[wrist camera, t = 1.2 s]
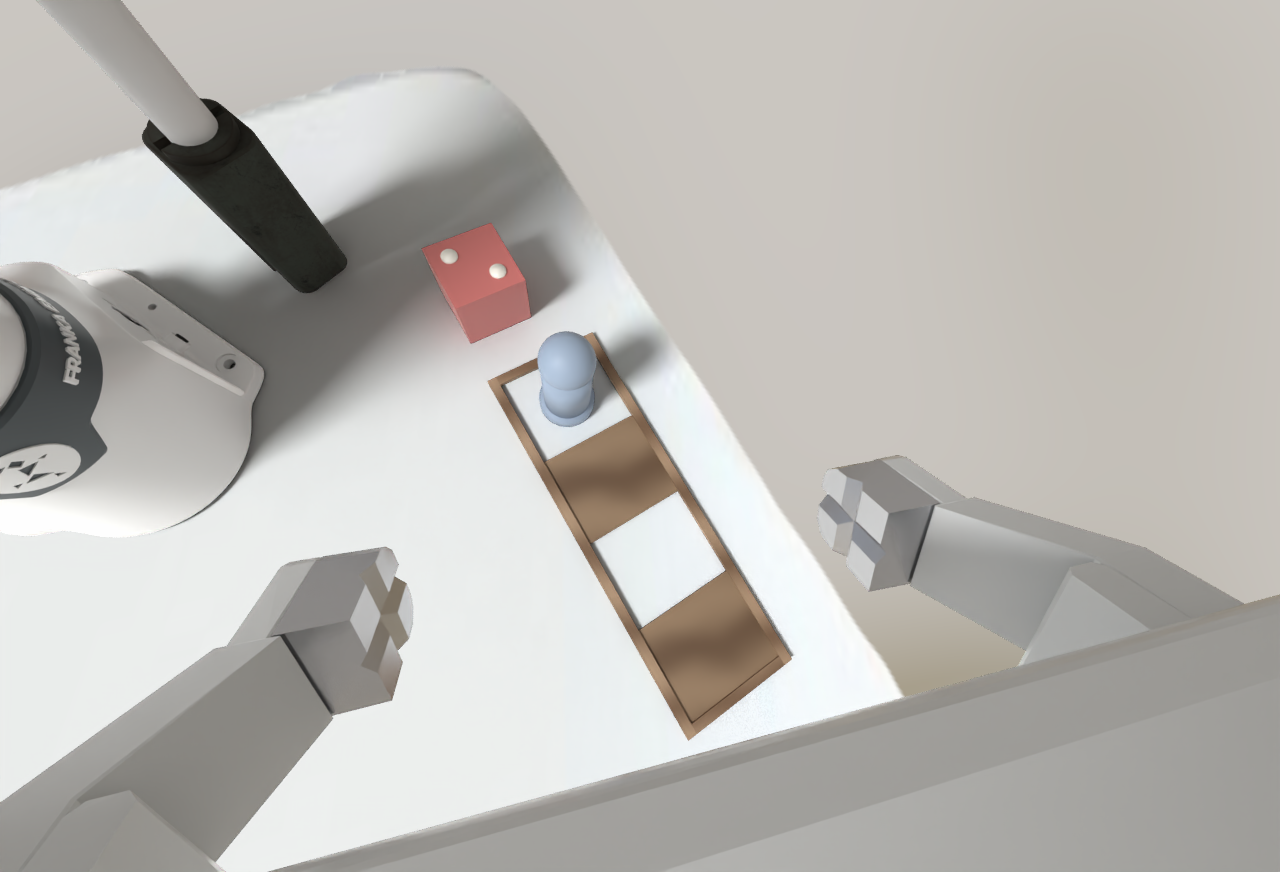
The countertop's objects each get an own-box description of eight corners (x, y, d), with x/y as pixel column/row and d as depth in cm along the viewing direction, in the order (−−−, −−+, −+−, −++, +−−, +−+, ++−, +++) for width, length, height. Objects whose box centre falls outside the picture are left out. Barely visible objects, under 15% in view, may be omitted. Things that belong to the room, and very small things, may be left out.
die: (440, 289, 42) (420, 245, 36) (500, 265, 43) (490, 219, 38) (470, 343, 41) (454, 308, 35) (531, 317, 43) (525, 278, 37)
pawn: (528, 399, 41) (515, 345, 30) (568, 366, 42) (569, 303, 32) (565, 437, 40) (565, 395, 30) (604, 403, 42) (617, 351, 31)
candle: (263, 262, 40) (-184, -174, 16) (311, 228, 42) (-33, -217, 18) (306, 298, 40) (-85, -91, 16) (353, 262, 41) (60, -142, 17)
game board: (488, 382, 40) (487, 381, 40) (591, 334, 43) (592, 332, 43) (687, 738, 35) (688, 740, 35) (789, 658, 38) (792, 659, 38)
